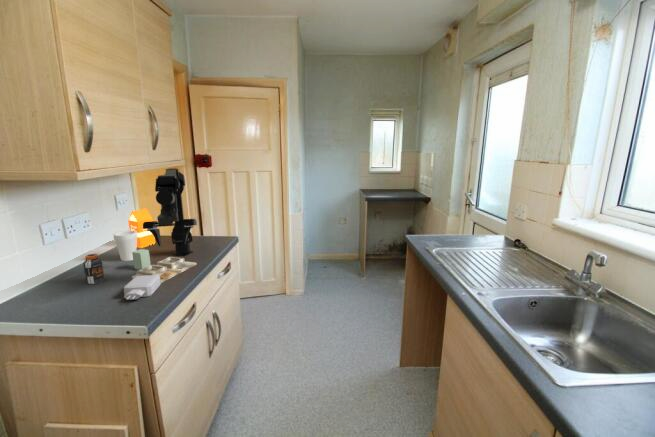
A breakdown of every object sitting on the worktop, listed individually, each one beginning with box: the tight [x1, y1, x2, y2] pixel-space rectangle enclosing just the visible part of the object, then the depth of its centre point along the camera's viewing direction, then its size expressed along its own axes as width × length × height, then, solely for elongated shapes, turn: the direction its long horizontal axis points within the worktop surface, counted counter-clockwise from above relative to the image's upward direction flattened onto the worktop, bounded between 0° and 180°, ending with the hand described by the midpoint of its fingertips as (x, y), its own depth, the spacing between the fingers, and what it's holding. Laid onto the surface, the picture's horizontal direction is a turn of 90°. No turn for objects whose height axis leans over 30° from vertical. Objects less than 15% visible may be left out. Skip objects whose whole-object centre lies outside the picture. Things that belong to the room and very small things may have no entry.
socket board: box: [131, 256, 197, 284], centre depth 135 cm, size 21×15×3 cm
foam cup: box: [112, 230, 138, 262], centre depth 148 cm, size 10×9×13 cm
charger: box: [123, 275, 162, 300], centre depth 113 cm, size 5×9×15 cm
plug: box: [132, 248, 152, 271], centre depth 138 cm, size 4×4×8 cm
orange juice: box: [128, 208, 156, 249], centre depth 168 cm, size 8×9×20 cm
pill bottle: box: [82, 253, 105, 285], centre depth 123 cm, size 6×6×11 cm
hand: (172, 245), depth 123 cm, fingers open, 9 cm apart
